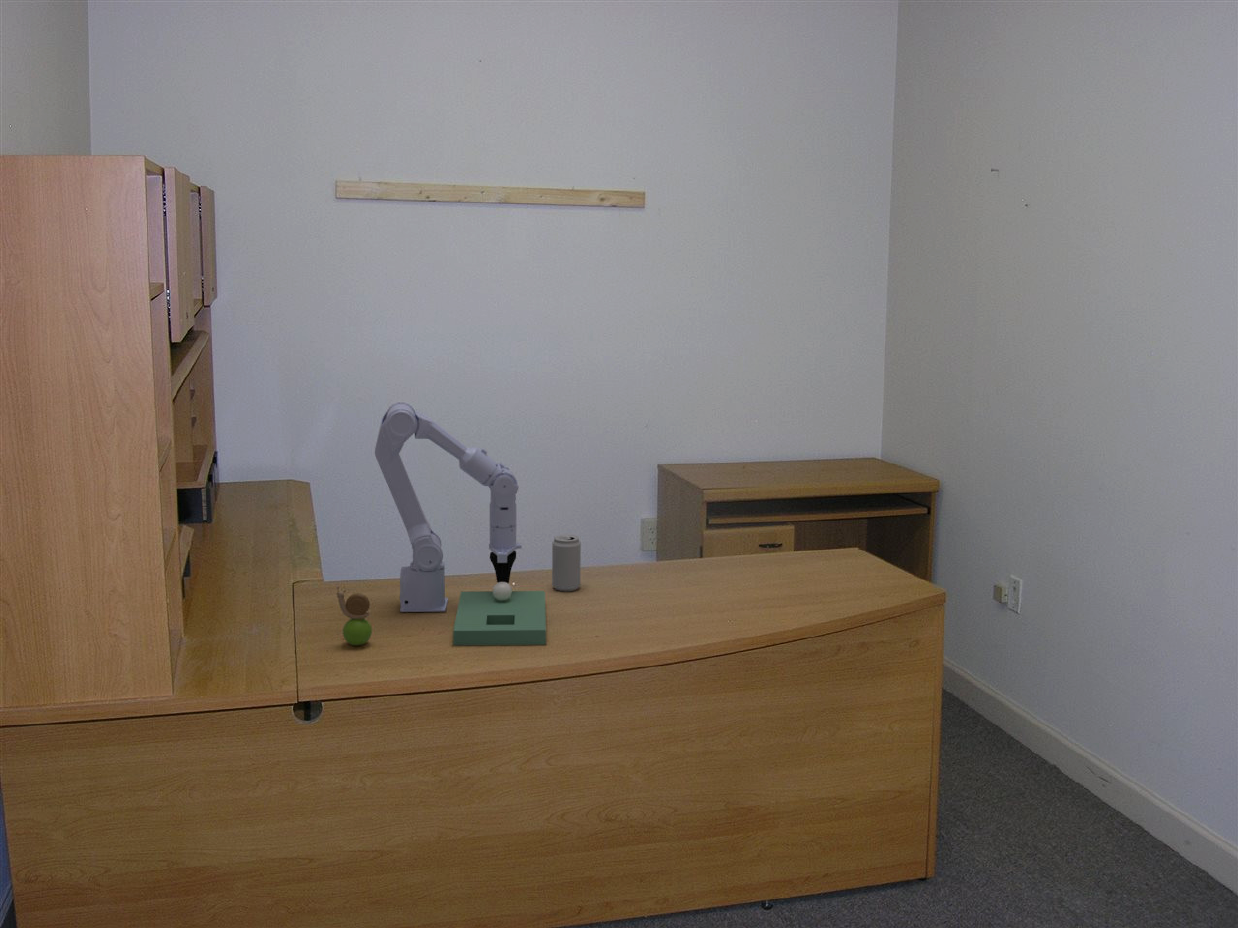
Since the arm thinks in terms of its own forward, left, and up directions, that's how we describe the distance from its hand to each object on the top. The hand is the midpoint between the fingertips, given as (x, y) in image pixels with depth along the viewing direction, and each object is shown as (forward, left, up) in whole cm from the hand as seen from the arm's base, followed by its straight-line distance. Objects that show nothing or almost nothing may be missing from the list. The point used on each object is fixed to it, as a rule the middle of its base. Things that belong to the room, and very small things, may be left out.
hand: (503, 585), depth 238 cm
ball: (0, -7, +1) cm, 7 cm away
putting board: (0, -13, -4) cm, 14 cm away
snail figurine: (-28, -24, -4) cm, 37 cm away
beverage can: (+14, +10, -4) cm, 18 cm away
